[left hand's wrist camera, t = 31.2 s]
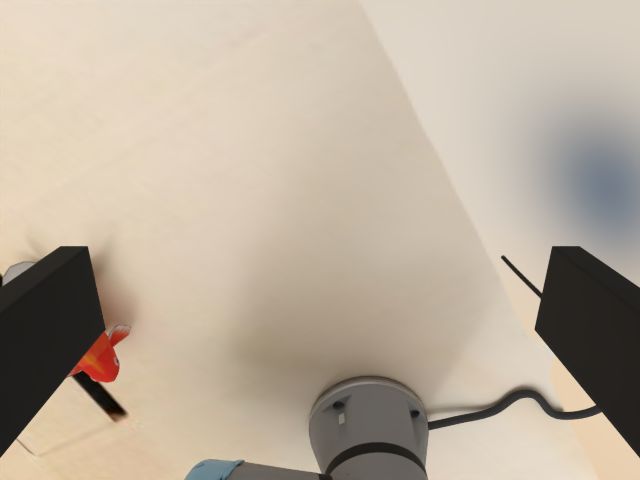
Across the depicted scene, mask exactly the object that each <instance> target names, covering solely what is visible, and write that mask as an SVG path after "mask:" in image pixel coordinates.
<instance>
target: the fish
mask: <svg viewBox="0 0 640 480" xmlns="http://www.w3.org/2000/svg"><path fill="white" fill-rule="evenodd" d="M34 264H36V263H35V262H21V263H18V264H15V265H12V266H10V267H9V269H8V270H7V271H6V273H5V275H4V277H3V283H2V286H3V285H5V284H6V283H8V282H9V281H11V280H12V279H14V278H15V277H17V276H18V275H19V274H21V273H22V272H24V271H25V270H27V269H28V268H30V267H31V266H33V265H34ZM130 329H131V328H130V327H128V326H124V325H117V326H116V327H115V328H114V329H113V330H112V331H111V333H110V334H109V336H107V335H106V333H105V332H103V333H102V334H101V336H100V337H99V338H98V339H97V341H96V342H95V343H94V344H93V345H92V347H91V348H90V349H89V350H88V352H87V353H86V354H85V355H84V356H83V358H82V359H81V360H80V361H79V362H78V364H77V365H76V366H75V367H74V369H73V370H72V371H71V372H70V373H69V375H68V376H67V377H70V376H72V375H74V374H76V373H78V372H80V371H82V370H83V371H84V372H86V373H87V374H88V375H90V377H91V379H92V380H94V381H100V382H106V383H108V382H112V381H114V380H115V379H116V377H117V375H118V372H119V361H118V359H117V356H116V354H115V351H114V348H113V347H114V346H115V345H116V344H117V343H119V342H120V341H122V340H123V339H124V338H126V337H127V336H128V335H129V331H130ZM67 377H66V378H67Z"/></svg>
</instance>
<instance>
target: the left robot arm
mask: <svg viewBox="0 0 640 480" xmlns="http://www.w3.org/2000/svg"><path fill="white" fill-rule="evenodd" d="M501 259H502V260H503V261H504V262H505V263H506V264H507V265H508V266H509V267H510V268H511V269H512V271H513V272H514V273H515V274H516V275H517V276H518V277H519V278H520V279H521V280H522V281H523V282H524V283H525V284H526V285H527V286H528V287H529V288H530V289H531V290H532V291H533V292H534V293H535V294H536V295H537V296H538V297H539V298H540V299H541V302H540V306H539V311H538V316H537V320H536V325H535V331H536V332H537V333H538V334H539V336H540V337H541V338H542V339H543V341H544V342H545V343H546V344H547V345H548V347H549V348H550V349H551V350H552V352H553V353H554V354H555V355H556V356H557V358H558V359H559V360H560V361H561V362H562V364H563V365H564V366H565V367H566V369H567V370H568V371H569V372H570V373H571V375H572V376H573V377H574V378H575V380H576V381H577V382H578V383H579V384H580V386H581V387H582V388H583V389H584V391H585V392H586V393H587V394H588V395H589V397H590V398H591V399H592V400H593V401H594V403H595V404H596V405H595V406H593V407H591V408H588V409H585V410H580V411H574V412H557V411H555V410H553V409H552V408H551V407H550V406H549V405H548V403H547V402H546V400H545V399H544V398H543V397H542V396H541V395H540V394H539V393H537V392H535V391H532V390H520V391H517V392H514V393H512V394H511V395H509V396H508V397H506V398H505V399H504V400H503V401H501V402H500V403H499V404H497V405H496V406H494V407H492V408H489V409H486V410H483V411H479V412H475V413H469V414H464V415H459V416H454V417H450V418H445V419H441V420H436V421H432V422H428V421H427V417H426V414H425V410H424V407H423V405H422V403H421V401H420V400H419V398H418V397H417V396H416V395H415V393H414V392H412V391H411V390H410V389H409V388H407V387H406V386H404V385H402V384H401V383H398V382H396V381H394V380H391V379H387V378H382V377H358V378H353V379H349V380H346V381H343V382H341V383H339V384H337V385H335V386H333V387H331V388H330V389H328V390H327V391H326V392H325V393H324V394H323V395H322V396H321V397H320V398H319V399H318V400H317V402H316V403H315V405H314V407H313V409H312V411H311V415H310V421H309V436H310V442H311V446H312V449H313V452H314V454H315V457H316V460H317V462H318V465H319V467H320V470H321V473H322V474H318V473H313V472H306V471H299V470H292V469H286V468H279V467H273V466H267V465H260V464H254V463H248V462H245V461H244V460H237V461H225V460H214V459H208V460H204V461H201V462H200V463H198V464H197V465H196V466H194V467H193V468H192V470H191V471H190V472H189V473H188V475H187V476H186V478H185V479H184V480H428V478H427V474H426V470H425V464H426V454H427V445H428V435H429V430H432V429H437V428H441V427H446V426H451V425H455V424H459V423H464V422H469V421H475V420H480V419H484V418H487V417H490V416H493V415H496V414H498V413H500V412H501V411H503V410H504V409H506V408H507V407H508V406H510V405H511V404H512V403H513V402H515V401H517V400H519V399H521V398H533V399H535V400H536V401H537V402H538V403H539V404H540V406H541V407H542V409H543V410H544V411H545V412H546V413H547V414H548V415H549V416H551V417H553V418H556V419H561V420H573V419H582V418H586V417H590V416H593V415H596V414H598V413H601V412H603V414H604V415H605V416H606V417H607V419H608V420H609V421H610V422H611V423H612V425H613V426H614V427H615V428H616V429H617V431H618V432H619V433H620V434H621V436H622V437H623V438H624V439H625V440H626V442H627V443H628V444H629V445H630V447H631V448H632V449H633V450H634V451H635V453H636V454H637V455H638V456H639V458H640V288H639V287H638V286H636V285H635V284H634V283H632V282H631V281H629V280H628V279H626V278H625V277H623V276H622V275H620V274H619V273H618V272H616V271H615V270H613V269H612V268H610V267H609V266H607V265H606V264H604V263H603V262H602V261H600V260H599V259H597V258H596V257H594V256H593V255H591V254H590V253H588V252H587V251H586V250H584V249H583V248H581V247H580V246H553V247H552V250H551V255H550V260H549V264H548V269H547V274H546V278H545V283H544V288H543V292H542V293H541V292H540V291H539V290H538V289H537V288H536V287H535V286H534V285H533V284H532V283H531V282H530V281H529V280H528V279H527V278H526V277H525V276H524V275H523V274H522V273H521V272H520V271H519V270H518V269H517V268H516V267H515V266H514V265H513V264H512V263H511V262H510V261H509V260H508V259H507V258H506V257H505V256H504V255H502V256H501ZM104 331H105V325H104V320H103V316H102V311H101V306H100V302H99V297H98V292H97V288H96V283H95V278H94V274H93V269H92V264H91V260H90V255H89V250H88V246H60V247H59V248H57V249H56V250H54V251H53V252H52V253H50V254H49V255H47V256H46V257H44V258H43V259H41V260H40V261H38V262H37V263H36V264H34V265H33V266H31V267H30V268H28V269H27V270H25V271H24V272H22V273H21V274H19V275H18V276H17V277H15V278H14V279H12V280H11V281H9V282H8V283H6V284H5V285H3V286H2V287H1V288H0V458H1V456H2V455H3V454H4V453H5V451H6V450H7V449H8V448H9V447H10V445H11V444H12V443H13V442H14V440H15V439H16V438H17V437H18V436H19V434H20V433H21V432H22V431H23V430H24V428H25V427H26V426H27V425H28V423H29V422H30V421H31V420H32V419H33V417H34V416H35V415H36V414H37V412H38V411H39V410H40V409H41V408H42V406H43V405H44V404H45V403H46V401H47V400H48V399H49V398H50V397H51V395H52V394H53V393H54V392H55V391H56V389H57V388H58V387H59V386H60V384H61V383H62V382H63V381H64V380H65V378H66V377H67V376H68V375H69V373H70V372H71V371H72V370H73V369H74V367H75V366H76V365H77V364H78V362H79V361H80V360H81V359H82V358H83V356H84V355H85V354H86V353H87V352H88V350H89V349H90V348H91V347H92V345H93V344H94V343H95V342H96V341H97V339H98V338H99V337H100V336H101V334H102V333H103V332H104Z"/></svg>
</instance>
